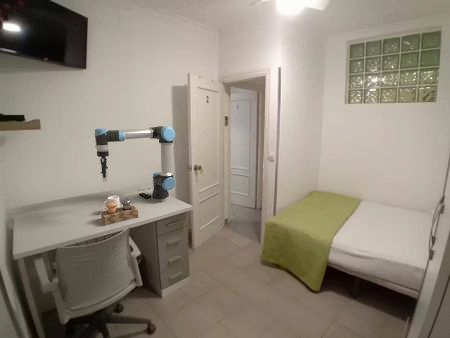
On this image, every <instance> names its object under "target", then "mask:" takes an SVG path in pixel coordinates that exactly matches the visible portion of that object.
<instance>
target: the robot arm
mask: <svg viewBox="0 0 450 338" xmlns="http://www.w3.org/2000/svg"><path fill="white" fill-rule="evenodd" d="M94 139H95V147H94V148H96V156H97V157H98V158H100V160H99V162H100V165H101V171H100V174H101V176H102V183H107V182H108V177H109V174H108V169H109V166H108V164H107V161H108V160H107V157H109V156H110V153H109V143H113V142H117V143H118V142H119V143H121V142H125V141H126V140H131V139H132V140H135V139H137V140H138V139H151V140H152V139H153V140H158V144H159V145H160V159H161V161H160V162H161V163H160V165H161V171H158V172H157V171H156V172H154V173H153V174H152V182H153V183H152V184H153V189H152V193H151V198H153V199H155V200H162V199H166V198H168V197H169V196H170V195H169V194H170V193H169V191H170V190H173V189H174V188H175V187H176V184H177V181H176V179H175V177H174V173H173V172H172V171H173V169H172V167H173V166H172V144H173V143H174V139H176V132H175V130H174V129H173V127H171V126H167V125H166V126H163V125H160V126H153V127H150V126H149V127H148V128H136V129H119V130H117V129H116V130H111V129H109V130H107V128H95V129H94Z"/></svg>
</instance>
